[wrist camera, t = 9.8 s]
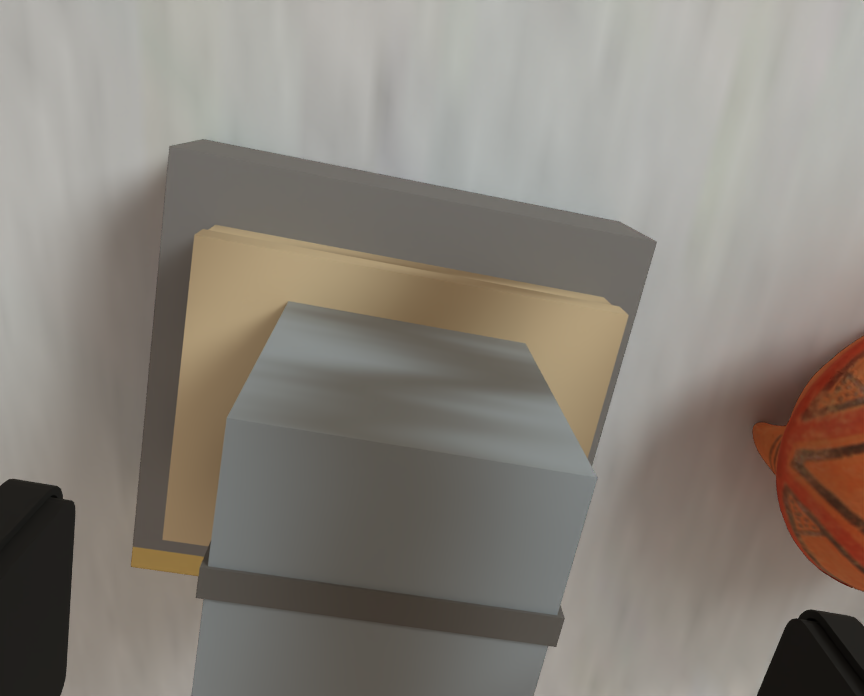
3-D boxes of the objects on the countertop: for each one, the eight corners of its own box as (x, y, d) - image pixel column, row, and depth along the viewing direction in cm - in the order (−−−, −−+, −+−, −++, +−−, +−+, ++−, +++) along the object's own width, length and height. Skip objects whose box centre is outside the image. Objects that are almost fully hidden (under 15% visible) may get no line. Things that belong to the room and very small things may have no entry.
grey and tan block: (604, 293, 18) (760, 436, 10) (534, 549, 20) (620, 826, 12) (215, 220, 17) (69, 318, 9) (184, 498, 19) (44, 763, 11)
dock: (620, 222, 20) (657, 241, 17) (527, 560, 23) (546, 624, 21) (203, 139, 19) (169, 145, 16) (164, 507, 22) (130, 566, 19)
